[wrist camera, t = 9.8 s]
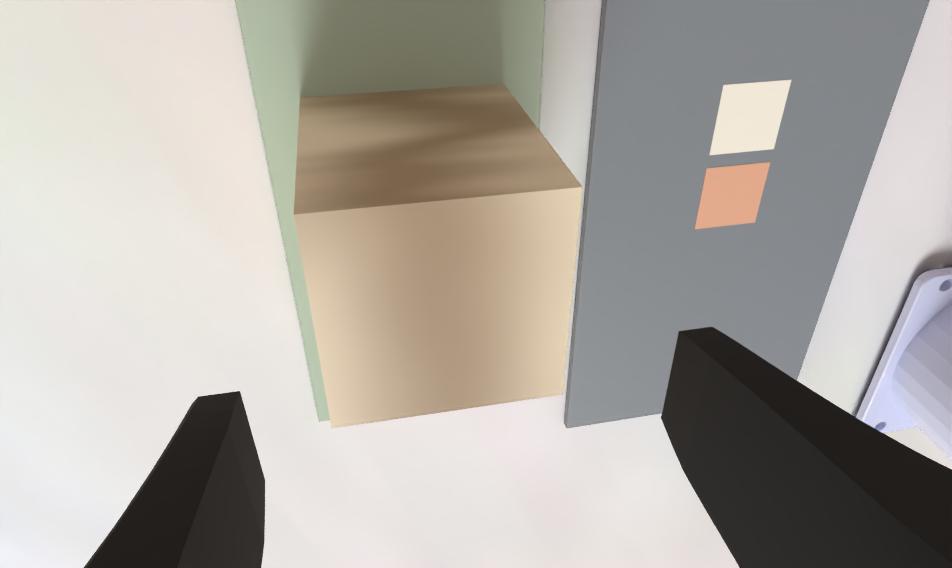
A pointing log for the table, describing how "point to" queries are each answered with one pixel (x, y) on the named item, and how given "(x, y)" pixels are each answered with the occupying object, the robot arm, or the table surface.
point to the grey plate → (722, 180)
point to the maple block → (434, 250)
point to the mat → (374, 79)
